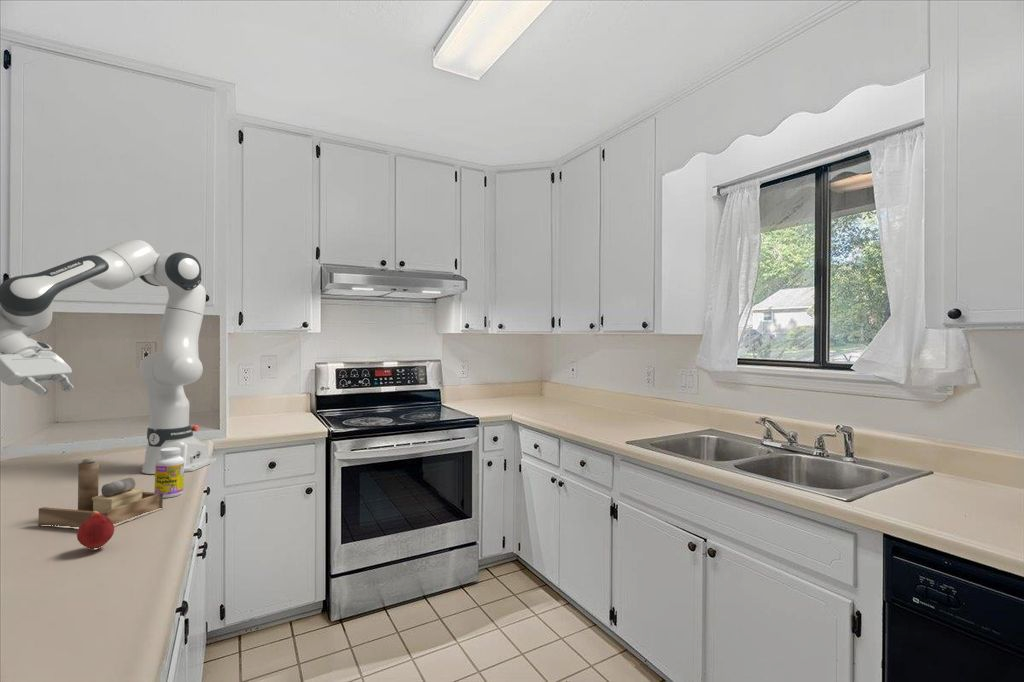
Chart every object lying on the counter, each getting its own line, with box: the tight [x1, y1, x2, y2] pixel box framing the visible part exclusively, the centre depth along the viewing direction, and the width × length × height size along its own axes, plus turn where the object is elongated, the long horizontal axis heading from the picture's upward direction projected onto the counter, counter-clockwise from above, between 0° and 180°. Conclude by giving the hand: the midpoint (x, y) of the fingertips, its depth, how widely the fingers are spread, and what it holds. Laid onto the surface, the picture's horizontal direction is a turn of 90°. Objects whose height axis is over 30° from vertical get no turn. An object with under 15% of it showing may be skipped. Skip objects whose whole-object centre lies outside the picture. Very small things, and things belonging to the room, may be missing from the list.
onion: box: [76, 511, 115, 550], centre depth 103 cm, size 6×6×8 cm
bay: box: [37, 491, 164, 527], centre depth 122 cm, size 16×17×4 cm
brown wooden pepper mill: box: [77, 458, 100, 511], centre depth 123 cm, size 5×5×13 cm
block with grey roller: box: [92, 477, 145, 512], centre depth 121 cm, size 8×5×9 cm, turn 171°
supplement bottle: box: [153, 447, 185, 499], centre depth 140 cm, size 7×7×13 cm
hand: (57, 391), depth 130 cm, fingers open, 8 cm apart
